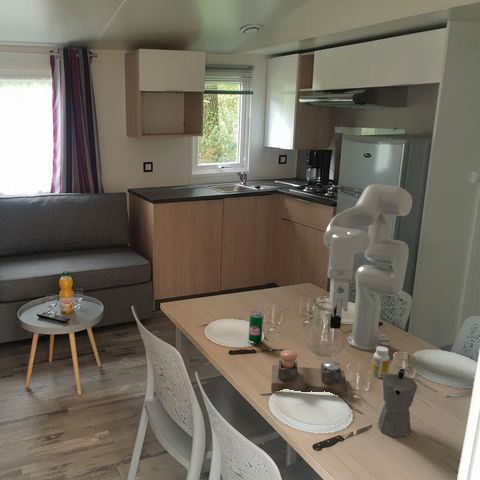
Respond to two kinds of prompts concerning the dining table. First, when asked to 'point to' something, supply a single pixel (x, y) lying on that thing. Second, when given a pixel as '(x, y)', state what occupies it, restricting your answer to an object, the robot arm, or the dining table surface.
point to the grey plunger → (331, 366)
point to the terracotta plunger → (288, 359)
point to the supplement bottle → (380, 362)
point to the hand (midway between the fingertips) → (334, 327)
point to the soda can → (256, 327)
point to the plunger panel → (308, 380)
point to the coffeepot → (397, 404)
